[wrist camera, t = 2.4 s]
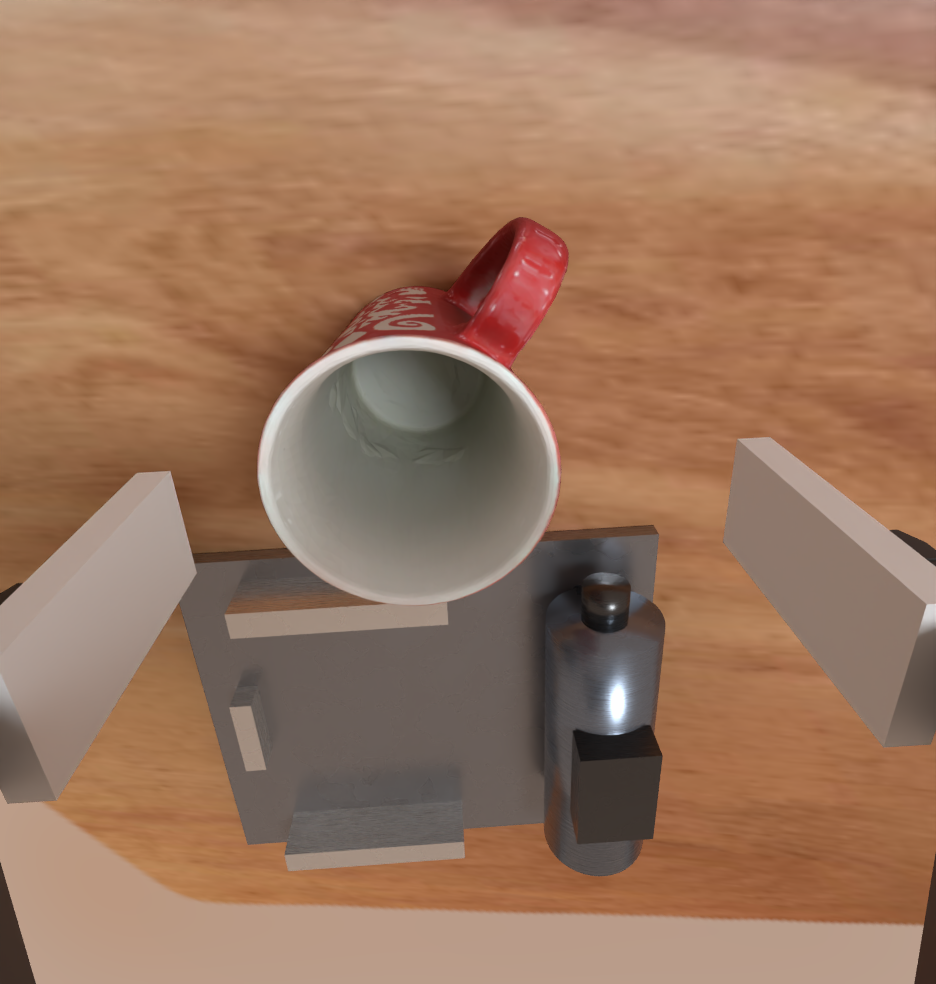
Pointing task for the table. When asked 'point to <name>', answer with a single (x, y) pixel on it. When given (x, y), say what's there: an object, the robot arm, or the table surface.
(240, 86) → the table surface
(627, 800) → the plate
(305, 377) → the mug
